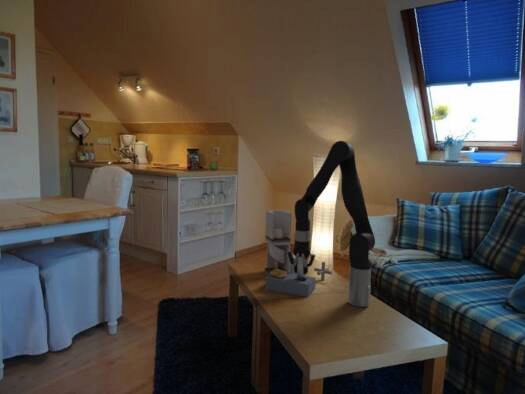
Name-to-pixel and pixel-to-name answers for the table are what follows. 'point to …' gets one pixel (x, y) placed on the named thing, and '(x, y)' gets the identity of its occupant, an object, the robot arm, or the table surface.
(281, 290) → the pin block
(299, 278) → the steel pin
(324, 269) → the pipe connector
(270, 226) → the display case
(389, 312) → the table surface
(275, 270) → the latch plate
